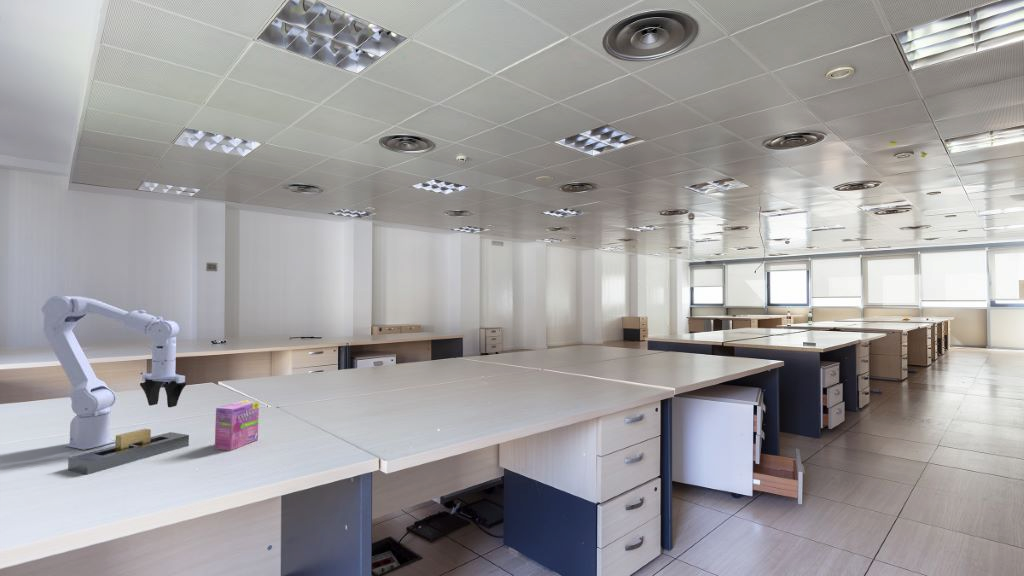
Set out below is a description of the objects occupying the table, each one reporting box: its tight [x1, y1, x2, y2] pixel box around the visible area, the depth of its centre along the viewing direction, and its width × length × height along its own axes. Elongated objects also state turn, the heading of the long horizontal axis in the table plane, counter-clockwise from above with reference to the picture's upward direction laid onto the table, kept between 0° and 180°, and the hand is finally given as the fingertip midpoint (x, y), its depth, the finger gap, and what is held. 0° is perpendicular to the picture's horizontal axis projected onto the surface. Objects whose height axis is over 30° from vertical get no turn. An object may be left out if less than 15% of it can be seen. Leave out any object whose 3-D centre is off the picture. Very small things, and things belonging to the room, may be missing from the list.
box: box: [214, 399, 260, 452], centre depth 134 cm, size 10×6×12 cm, turn 168°
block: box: [67, 431, 190, 475], centre depth 123 cm, size 8×24×3 cm, turn 159°
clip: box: [114, 428, 152, 452], centre depth 123 cm, size 2×7×6 cm, turn 159°
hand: (162, 405), depth 137 cm, fingers open, 7 cm apart
